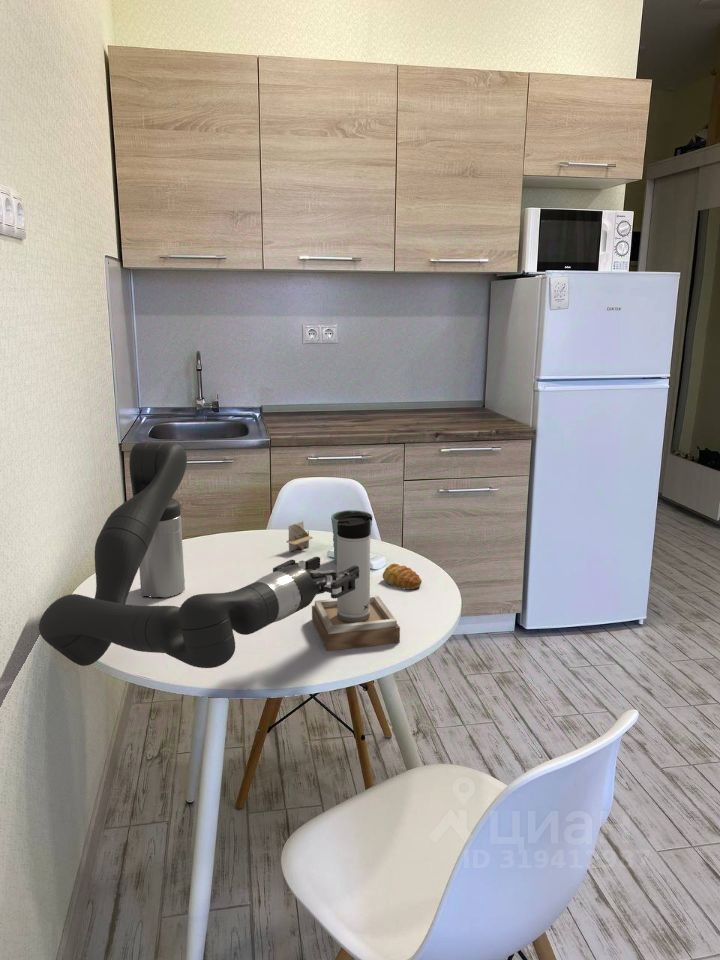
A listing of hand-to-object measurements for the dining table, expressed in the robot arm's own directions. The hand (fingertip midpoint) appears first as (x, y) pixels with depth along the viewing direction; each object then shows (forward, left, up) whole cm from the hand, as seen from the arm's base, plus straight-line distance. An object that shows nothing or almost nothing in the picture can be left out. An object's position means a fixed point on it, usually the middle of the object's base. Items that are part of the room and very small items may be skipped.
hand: (337, 566), depth 129 cm
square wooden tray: (+4, +5, -15) cm, 17 cm away
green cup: (+13, +43, -15) cm, 47 cm away
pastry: (+21, +27, -16) cm, 38 cm away
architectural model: (+2, +55, -16) cm, 58 cm away
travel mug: (+4, +5, -12) cm, 14 cm away
